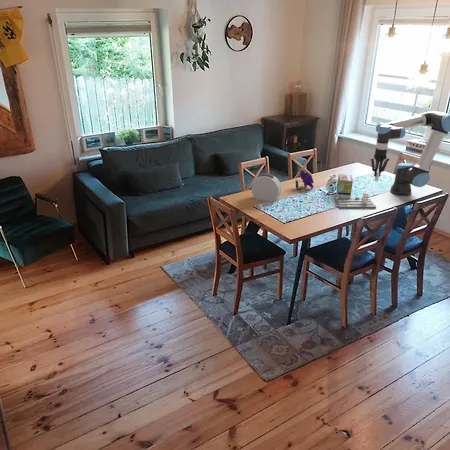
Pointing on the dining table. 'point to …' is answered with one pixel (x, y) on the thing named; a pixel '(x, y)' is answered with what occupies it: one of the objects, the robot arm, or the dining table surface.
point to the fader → (365, 198)
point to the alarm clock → (266, 188)
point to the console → (354, 204)
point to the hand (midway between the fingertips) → (376, 180)
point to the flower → (305, 180)
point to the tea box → (344, 186)
